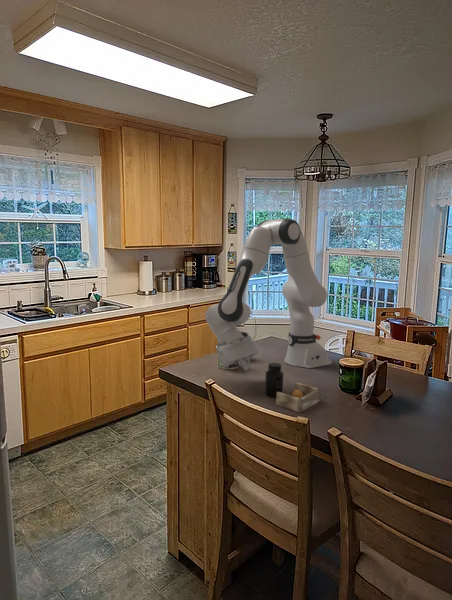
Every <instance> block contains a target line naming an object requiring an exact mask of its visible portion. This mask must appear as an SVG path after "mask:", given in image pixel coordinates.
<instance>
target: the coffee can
mask: <svg viewBox="0 0 452 600" xmlns="http://www.w3.org/2000/svg"><path fill="white" fill-rule="evenodd" d="M217 344H220V343H219V341H218V340H217ZM216 353H217V352H216ZM216 357H217V360H216V362H217V363H216V364H217V365H216V366H217V367H218V368H219V369H222V370H236V369H238V368H239V367H240V365H239V364H238V362H237V363H234V364H231V365H228V366H224V365H223V364H222V362H221V360H220V358H219V356H218V353H217V356H216Z"/></svg>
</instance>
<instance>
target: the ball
mask: <svg viewBox="0 0 452 600" xmlns="http://www.w3.org/2000/svg"><path fill="white" fill-rule="evenodd" d="M291 396H293V397H297V398H302V397H303V394H302V392H301V391H299V390H295V389H294V390H293V392H292V394H291Z"/></svg>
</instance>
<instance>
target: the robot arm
mask: <svg viewBox="0 0 452 600" xmlns="http://www.w3.org/2000/svg"><path fill="white" fill-rule="evenodd" d="M272 246H281V248H282V254H283V260H284V263H285V268H286V272H287V274H288V275H289V276H290V277H291V278H292V279H289V280H286V281H285V282H284V284H283V285H282V287H281V292H282V295H283V298H285V301H286V303H287V307H288V312H289V332H288V337H287V344H288V346H287V351H286V355H285V358H284V360H283V361H284V362H285V363H286V364H288V365H290V366H293V367H301V368H306V369H314V368H317V367H324V366H328V365H329V366H330V365H332V363H333V362H332V361H333V360H331V359H330V358H328V353H327V350H326V348H325V347H323V345H321V344H320V343H318V341H319V340H321V338H322V337H321V335H318V334H315V333H314V327H315V326H314V325H315V317H314V315H313V314H312V312H311V309H310V308H318V307H321V306H323V305H324V304H325V303H326V301H327V300H328V291H327V290H326V288H325V287H324V286H323V285H322V284H321V283H320V281H319V279H318V277H317V276H316V274H315V272H314V270H313V267H312V264H311V259H310V254H309V250H308V245H307V241H306V239H305V236H304V234H303V232H302V230H301V227H300V225H299V223H298V222H297V220H295V219H292V218H275V219H269V220H262V221H261V222H259V223H257V225H256V226H255V227H252V228H251V229H250V232H249V233H248V235H247V237H246V239H245V242H244V244H243V248H242V251H241V252H240V253H241V254H240V257H239V261H238V263H237V266H236V268H235V271H234V273H233V276H232V279H231V280H230V284H229V286H228V289H227V291H226V293H225V295H224V296H223V297H222V298H221V299H220V301H219V302H218V303H215V304H213V305H211V306H210V307H209V308H207V310H206V312H205V315H204V317H205V321H206V323H207V324H208V326H209V327H208V328H209V329H210V330H211V332H212V333H213V334H214V335H215V337H216V339H217V342H218V341H219V343H220V344H218V343H216V346H215V351H216V353H218V356H219V358H220V360H221V362H222V364H223V365H224V366H228V365H231V364H234V363H237V362H238V364H239V367H242V368H243V369H244V371H248V370H251V369H252V367H253V366H252V364H251V358H253V357H255V356H256V355H258V354H259V348H258V346H257V345H256V344H255V342H254V341H253V339H252V340H251V339H250V338H248V337H249V333H248V332H246V331H241V330H237V328H236V327H238V326H240V325H243V324H244V323H246V322H248V321H249V318H250V317H251V309H250V306H249V305H248V304H246V303H245V302H244V301H243V297H244V294H245V291H246V289H247V286H248V283H249V281H250V279H251V277H253V276H254V275H257V274H259V273H261V272H262V271H264V270H263V269H265V268H264V267H266V264H267V261H268V258H269V254H270V251H271V248H272ZM317 340H318V341H317ZM249 358H250V359H249Z"/></svg>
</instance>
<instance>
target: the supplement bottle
mask: <svg viewBox="0 0 452 600" xmlns="http://www.w3.org/2000/svg"><path fill="white" fill-rule="evenodd" d="M267 369H268V370H266V372H265V378H264V381H265V387H264V393H265V395H266V396H267V397H270V398H276V393H277V392H281V393H284V372H283V371H282V364H281V363H279V362H270V363H268V367H267Z"/></svg>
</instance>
